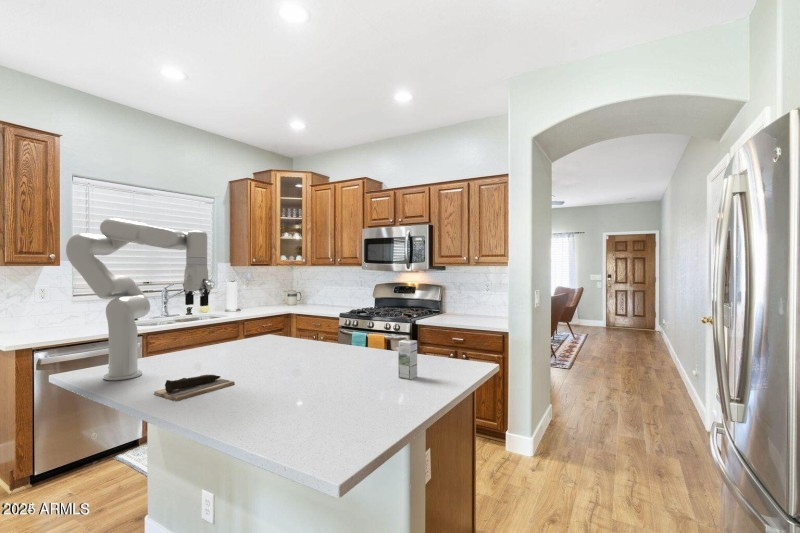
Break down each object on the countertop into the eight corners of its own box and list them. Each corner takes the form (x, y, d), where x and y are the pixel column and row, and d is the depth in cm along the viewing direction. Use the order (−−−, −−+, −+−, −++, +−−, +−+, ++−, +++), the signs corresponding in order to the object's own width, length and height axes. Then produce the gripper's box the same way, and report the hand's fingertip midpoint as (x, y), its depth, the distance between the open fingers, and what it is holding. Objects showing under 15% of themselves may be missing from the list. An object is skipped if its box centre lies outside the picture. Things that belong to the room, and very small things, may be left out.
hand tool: (170, 381, 137) (162, 380, 139) (170, 393, 136) (163, 391, 139) (221, 369, 153) (214, 368, 155) (221, 380, 152) (214, 379, 155)
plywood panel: (154, 394, 139) (154, 390, 139) (212, 379, 158) (212, 376, 158) (175, 400, 132) (175, 396, 132) (234, 384, 151) (234, 380, 151)
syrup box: (417, 376, 162) (417, 340, 162) (410, 380, 157) (410, 342, 157) (405, 374, 165) (405, 338, 165) (397, 377, 160) (397, 341, 160)
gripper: (175, 262, 163) (174, 305, 163) (201, 262, 154) (201, 307, 154) (192, 262, 169) (192, 303, 169) (218, 262, 160) (218, 305, 160)
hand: (196, 305), depth 162 cm, fingers open, 9 cm apart
